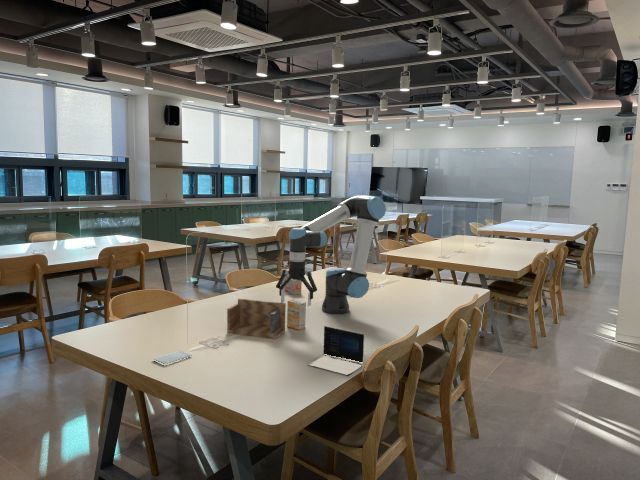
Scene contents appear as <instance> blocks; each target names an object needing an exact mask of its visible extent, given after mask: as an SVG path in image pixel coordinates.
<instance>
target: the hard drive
mask: <svg viewBox="0 0 640 480" xmlns="http://www.w3.org/2000/svg"><path fill="white" fill-rule="evenodd" d="M190 356H192V354H190V353H187V352H185V351H183V350H177V351H174V352H170V353H167V354H164V355H161V356H158V357H155V358H153V359H154V360H156V361H158V362H161V363H163V364H168V363H171V362H174V361H177V360H180V359H184V358H187V357H190ZM192 357H193V356H192Z"/></svg>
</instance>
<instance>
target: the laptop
mask: <svg viewBox="0 0 640 480" xmlns="http://www.w3.org/2000/svg"><path fill="white" fill-rule="evenodd" d="M364 348H365V334H364V333H360V332H356V331H350V330H346V329H341V328H335V327H330V326H326V325H324V326H323V354H322V355H324V354H327V355H329V356H330V355H331V356H336V357H341V358H346V359H351V360H355V361H359V362H363V363H364V351H365V350H364Z"/></svg>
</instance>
